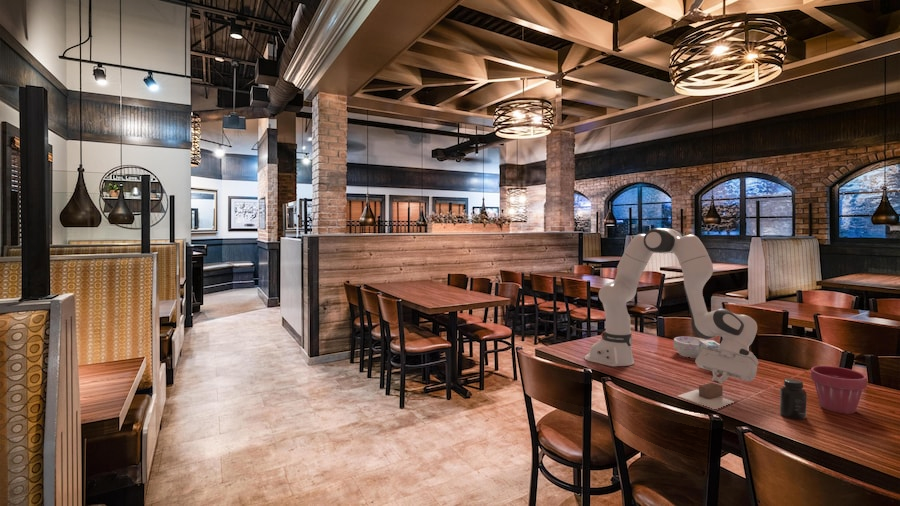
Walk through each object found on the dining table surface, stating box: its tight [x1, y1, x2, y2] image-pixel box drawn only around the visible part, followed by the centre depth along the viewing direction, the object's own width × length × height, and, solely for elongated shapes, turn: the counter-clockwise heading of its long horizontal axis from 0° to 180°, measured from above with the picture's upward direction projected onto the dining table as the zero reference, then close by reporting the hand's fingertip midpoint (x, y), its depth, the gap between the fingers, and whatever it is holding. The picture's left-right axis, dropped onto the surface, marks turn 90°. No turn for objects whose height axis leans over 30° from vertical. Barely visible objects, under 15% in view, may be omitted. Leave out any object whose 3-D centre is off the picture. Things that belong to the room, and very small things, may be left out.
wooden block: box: [698, 382, 724, 399], centre depth 157 cm, size 4×4×8 cm
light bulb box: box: [699, 339, 721, 354], centre depth 193 cm, size 11×7×11 cm, turn 168°
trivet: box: [676, 389, 735, 410], centre depth 154 cm, size 12×14×1 cm
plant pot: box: [810, 365, 868, 415], centre depth 144 cm, size 14×14×13 cm
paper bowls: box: [673, 336, 705, 359], centre depth 208 cm, size 15×15×8 cm
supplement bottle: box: [779, 378, 807, 421], centre depth 139 cm, size 7×7×12 cm
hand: (716, 382), depth 157 cm, fingers closed
